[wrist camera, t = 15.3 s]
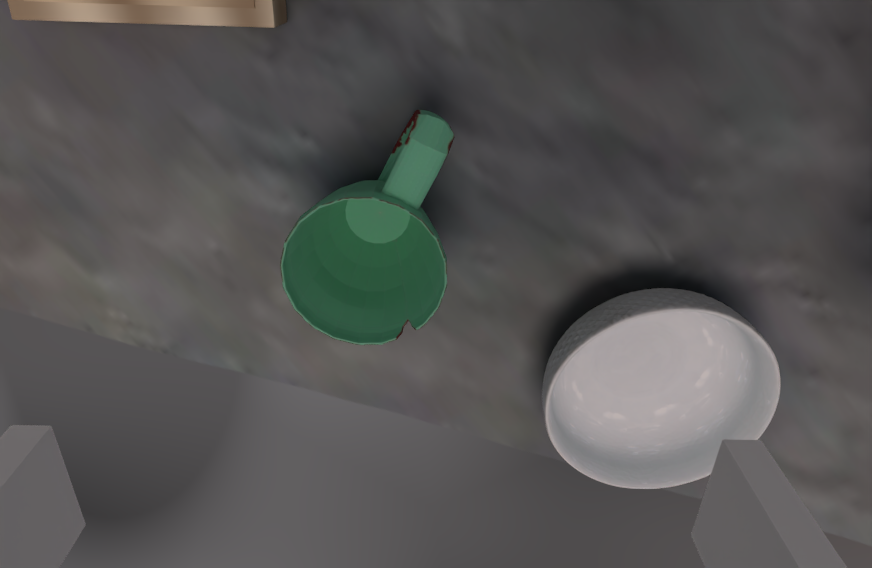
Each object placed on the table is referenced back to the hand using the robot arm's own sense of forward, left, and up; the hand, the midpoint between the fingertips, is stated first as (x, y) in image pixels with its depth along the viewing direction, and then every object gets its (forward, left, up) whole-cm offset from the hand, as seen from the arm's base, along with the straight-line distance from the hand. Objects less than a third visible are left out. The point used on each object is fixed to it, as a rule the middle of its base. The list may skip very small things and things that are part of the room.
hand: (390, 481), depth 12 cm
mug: (+2, +5, -33) cm, 33 cm away
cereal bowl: (-18, +19, -33) cm, 42 cm away
